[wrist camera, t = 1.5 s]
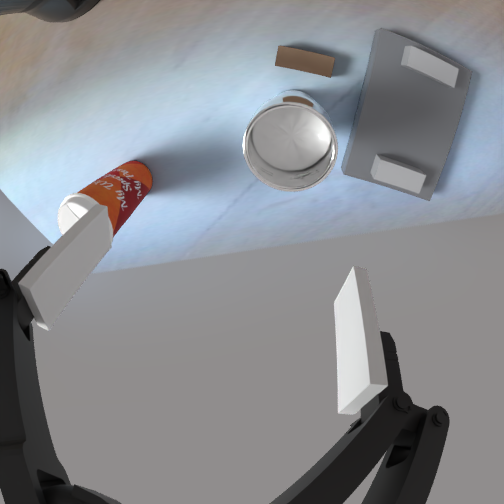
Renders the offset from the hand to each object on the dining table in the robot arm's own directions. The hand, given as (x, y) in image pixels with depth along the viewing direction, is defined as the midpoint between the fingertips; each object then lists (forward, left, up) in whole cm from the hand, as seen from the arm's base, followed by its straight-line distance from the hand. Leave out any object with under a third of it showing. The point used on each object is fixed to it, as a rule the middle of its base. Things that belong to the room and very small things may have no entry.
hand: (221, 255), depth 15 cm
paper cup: (+8, -18, -23) cm, 30 cm away
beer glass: (-4, +2, -23) cm, 24 cm away
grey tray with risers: (-8, +15, -23) cm, 29 cm away
